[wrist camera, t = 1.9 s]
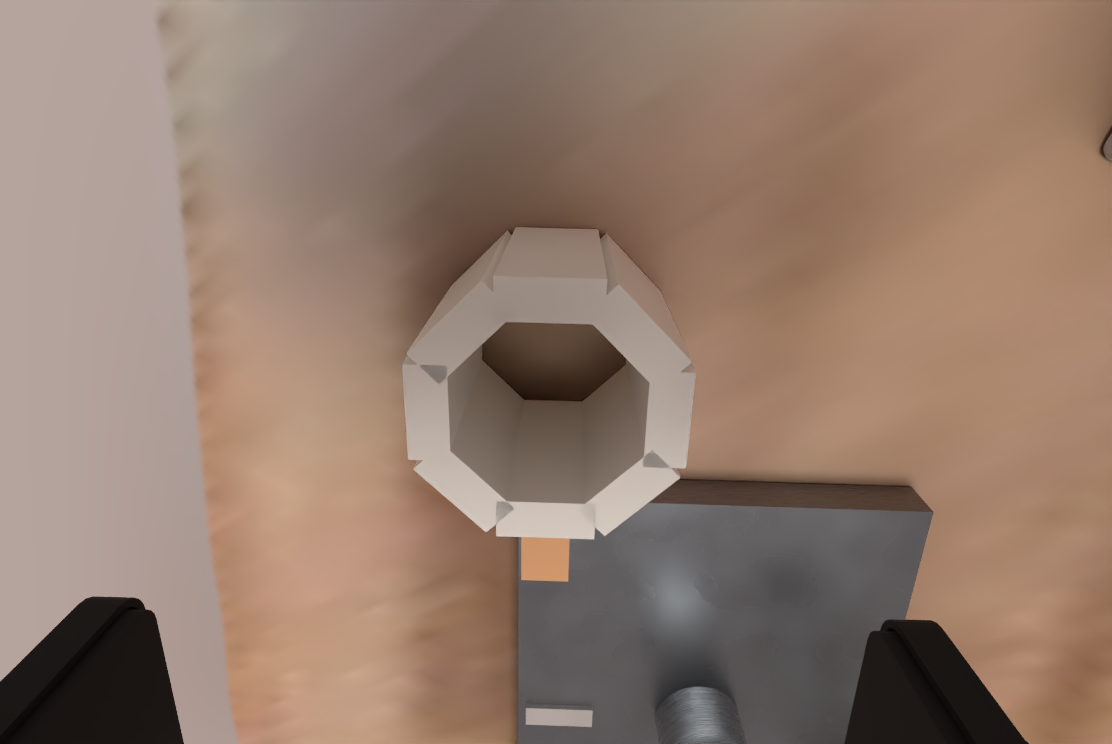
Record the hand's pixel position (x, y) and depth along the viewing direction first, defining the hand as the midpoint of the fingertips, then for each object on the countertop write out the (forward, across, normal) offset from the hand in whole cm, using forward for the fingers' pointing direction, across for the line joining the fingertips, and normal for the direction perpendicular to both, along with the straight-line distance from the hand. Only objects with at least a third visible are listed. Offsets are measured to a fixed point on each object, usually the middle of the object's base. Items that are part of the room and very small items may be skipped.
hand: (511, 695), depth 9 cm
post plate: (+14, -6, +13) cm, 20 cm away
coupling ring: (+13, 0, -1) cm, 13 cm away
